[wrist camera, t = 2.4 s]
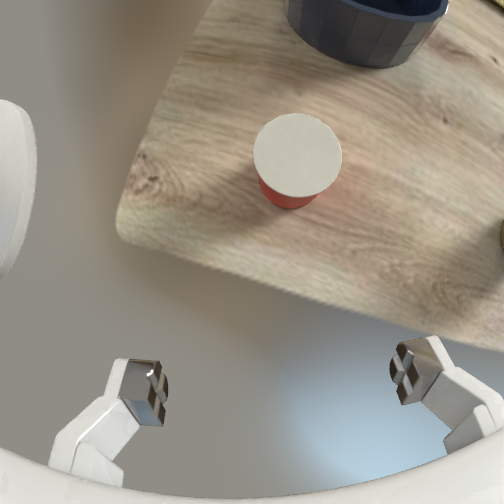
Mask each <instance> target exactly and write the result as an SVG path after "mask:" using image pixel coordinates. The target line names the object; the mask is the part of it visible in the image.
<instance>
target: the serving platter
mask: <svg viewBox="0 0 504 504" xmlns="http://www.w3.org/2000/svg"><path fill="white" fill-rule="evenodd" d="M492 1H493V2H495V3H496V4H498V5H499V6H500V7H502V8H503V9H504V0H492Z"/></svg>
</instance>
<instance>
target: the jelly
mask: <svg viewBox="0 0 504 504" xmlns="http://www.w3.org/2000/svg"><path fill="white" fill-rule="evenodd" d="M253 160H254V165H255V167H256V170H257V172H258V176H259V181H260V186H261V189H262V191H263V193H264V194H265V196H266V197H267V198H268V199H269V200H270V201H271V202H272V203H274V204H276V205H278V206H280V207H283V208H290V209H291V208H299V207H302V206H304V205H306V204H308V203H309V202H311V201H312V200H313V199H314V198H315V197H316V196H317V195H318V194H319V193H320V192H322V191H324V190H325V189H326V188H327V187H329V186H330V185H331V184H332V182H333V181H334V180H335V178H336V177H337V175H338V173H339V170H340V167H341V162H342V154H341V148H340V144H339V142H338V139H337V137H336V136H335V134H334V133H333V131H332V130H331V129H330V128H329V127H328V126H327V125H326V124H325V123H323V122H322V121H320V120H319V119H317V118H315V117H312V116H309V115H306V114H299V113H291V114H285V115H281V116H279V117H276V118H274V119H272V120H271V121H269V122H268V123H267V124H266V125H265V126H264V127H263V128H262V129H261V130H260V132H259V133H258V135H257V137H256V140H255V142H254V147H253Z"/></svg>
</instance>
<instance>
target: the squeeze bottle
mask: <svg viewBox="0 0 504 504" xmlns="http://www.w3.org/2000/svg"><path fill="white" fill-rule="evenodd" d="M501 243H502V247H503V251H504V221H503V225H502V229H501Z"/></svg>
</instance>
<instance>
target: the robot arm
mask: <svg viewBox="0 0 504 504" xmlns="http://www.w3.org/2000/svg"><path fill="white" fill-rule="evenodd" d="M396 351H397V354H396V355H395V356H394V357H392V359H391V362H390V375H391V378H392V381H393V382H394V383H396V384H397V385H398V388H397V394H398V396H399V399H400V401H401V404H402V405H406V404H410V403H414V402H418V401H421V402H422V403H423V404H424V405H425V406H426V407H427V408H428V409H430V410H431V411H432V412H433V413H434V414H435V415H436V416H437V417H438V418H439V419H441V420H442V421H443V422H444V423H445V424H446V425H447V426H448V427H449V428H450V429H451V430H452V431H451V432H450V433H449V434H448V435H447V436H446V437H445V439H444V441H443V442H444V445H445V448H446V451H447V454H448V455H446V456H443V457H441V458H438V459H436V460H433V461H431V462H428V463H425V464H423V465H420V466H417V467H414V468H412V469H409V470H405V471H402V472H400V473H396V474H393V475H389V476H386V477H382V478H379V479H375V480H371V481H367V482H364V483H359V484H355V485H350V486H345V487H340V488H335V489H330V490H324V491H318V492H311V493H303V494H295V495H285V496H274V497H257V498H205V497H189V496H177V495H168V494H159V493H152V492H145V491H139V490H133V489H128V488H123V487H122V483H123V476H124V472H123V470H122V469H121V468H119V466H117V465H116V464H115V463H113V462H112V460H113V459H114V458H115V457H116V455H117V454H118V453H119V452H120V451H121V449H122V448H123V447H124V446H125V444H126V443H127V442H128V441H129V440H130V438H131V437H132V436H133V435H134V434H135V432H136V431H137V430H138V429H139V428H140V425H148V426H163V424H164V417H165V409H164V407H163V405H162V404H163V403H164V402H165V401H166V400H167V397H168V382H167V378H166V376H165V374H163V373H162V372H161V369H162V366H161V364H160V362H159V361H151V360H136V359H123V358H117V359H116V360H115V361H114V363H113V366H112V369H111V372H110V375H109V378H108V381H107V385H106V388H105V391H104V394H103V397H102V396H99V397H98V398H97V399H96V400H94V401H93V403H91V404H90V405H89V406H88V407H87V408H86V409H84V411H82V412H81V413H80V414H79V415H78V416H77V417H76V418H75V419H73V420H72V421H71V422H70V423H69V424H68V425H67V426H66V427H64V428H63V429H62V430H61V431H60V432H59V433H58V434H57V435H56V438H55V441H54V445H53V448H52V452H51V455H50V459H49V463H48V466H45V465H42V464H39V463H37V462H34V461H32V460H29V459H27V458H25V457H22V456H20V455H17V454H15V453H13V452H11V451H8V450H6V449H4V448H2V447H0V504H504V401H503V399H502V397H501V395H500V394H499V393H497V392H496V391H494V390H493V389H491V388H490V387H488V386H487V385H485V384H483V383H482V382H480V381H479V380H477V379H476V378H474V377H473V376H471V375H470V374H468V373H467V372H465V371H464V370H462V369H461V368H459V367H456V368H455V366H454V365H453V363H452V361H451V359H450V357H449V355H448V354H447V352H446V350H445V348H444V346H443V345H442V343H441V341H440V340H439V338H438V337H437V336H436V335H434V336H430V337H425V338H419V339H414V340H409V341H405V342H401V343H399V344H398V346H397V348H396Z"/></svg>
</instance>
